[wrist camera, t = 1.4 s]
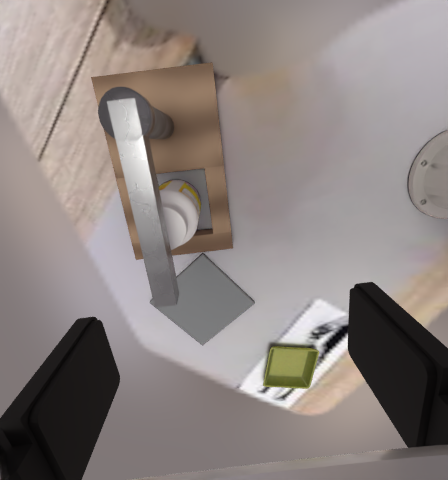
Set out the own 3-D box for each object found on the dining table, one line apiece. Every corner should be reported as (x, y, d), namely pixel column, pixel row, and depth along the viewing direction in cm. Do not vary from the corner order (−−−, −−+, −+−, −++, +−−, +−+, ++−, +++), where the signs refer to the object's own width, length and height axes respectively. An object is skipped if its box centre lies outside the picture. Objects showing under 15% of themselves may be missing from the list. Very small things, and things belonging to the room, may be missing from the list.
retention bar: (103, 94, 21) (92, 89, 19) (150, 88, 21) (143, 83, 19) (151, 296, 27) (146, 308, 25) (187, 292, 27) (185, 304, 25)
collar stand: (99, 81, 34) (17, 38, 20) (212, 68, 34) (211, 14, 19) (140, 253, 41) (102, 310, 27) (231, 242, 41) (240, 294, 27)
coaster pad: (202, 253, 42) (202, 254, 41) (254, 301, 45) (254, 303, 44) (150, 300, 44) (149, 302, 44) (202, 343, 47) (202, 345, 47)
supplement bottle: (152, 219, 40) (124, 253, 28) (157, 174, 38) (131, 189, 26) (197, 228, 40) (190, 265, 28) (205, 184, 38) (201, 203, 26)
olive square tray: (316, 342, 49) (320, 350, 47) (306, 379, 52) (309, 389, 50) (268, 339, 48) (270, 347, 46) (260, 377, 51) (262, 386, 49)
